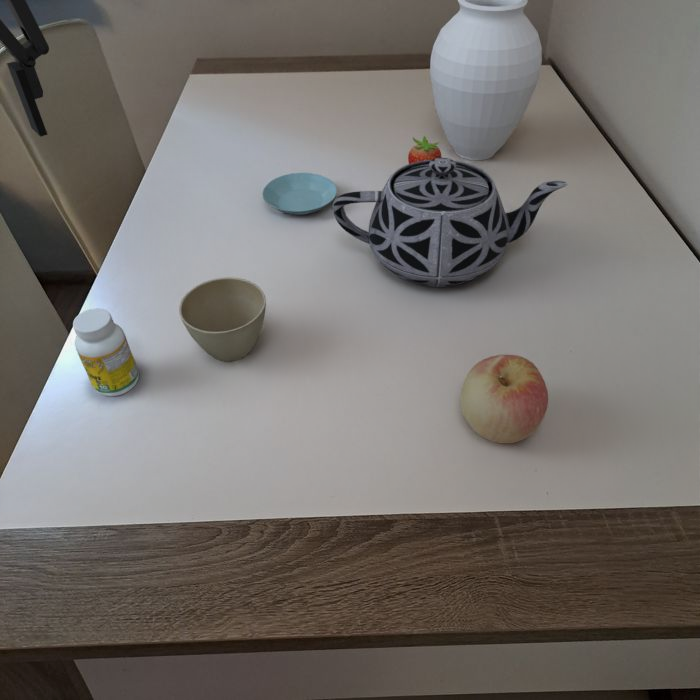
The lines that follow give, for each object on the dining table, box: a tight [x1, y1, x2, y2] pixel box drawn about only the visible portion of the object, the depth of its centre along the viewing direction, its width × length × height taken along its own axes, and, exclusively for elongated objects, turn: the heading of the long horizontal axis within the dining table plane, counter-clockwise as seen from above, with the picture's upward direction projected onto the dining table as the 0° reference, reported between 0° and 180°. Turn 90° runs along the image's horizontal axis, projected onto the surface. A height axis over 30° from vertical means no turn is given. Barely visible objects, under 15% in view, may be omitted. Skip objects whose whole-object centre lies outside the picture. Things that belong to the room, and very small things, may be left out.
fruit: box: [407, 135, 442, 164], centre depth 105 cm, size 5×5×8 cm
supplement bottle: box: [72, 308, 140, 397], centre depth 73 cm, size 5×5×10 cm
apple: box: [460, 354, 549, 444], centre depth 67 cm, size 9×9×8 cm
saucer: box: [262, 172, 338, 215], centre depth 103 cm, size 12×12×2 cm
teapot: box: [332, 157, 569, 288], centre depth 87 cm, size 19×31×15 cm, turn 89°
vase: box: [429, 0, 543, 161], centre depth 107 cm, size 18×18×25 cm
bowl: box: [178, 276, 267, 362], centre depth 77 cm, size 10×10×7 cm
